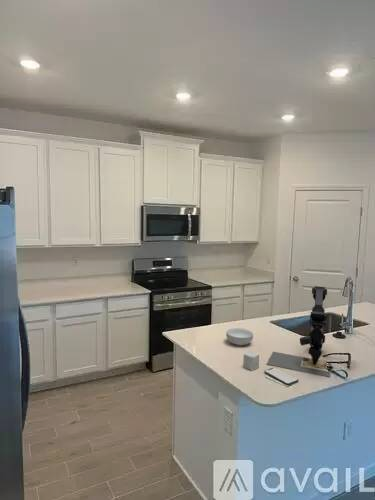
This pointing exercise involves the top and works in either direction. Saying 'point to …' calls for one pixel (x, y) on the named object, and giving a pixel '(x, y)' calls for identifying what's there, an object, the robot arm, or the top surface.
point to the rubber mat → (295, 364)
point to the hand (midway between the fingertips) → (314, 361)
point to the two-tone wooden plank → (319, 363)
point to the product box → (251, 360)
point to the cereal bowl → (239, 336)
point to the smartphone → (281, 376)
